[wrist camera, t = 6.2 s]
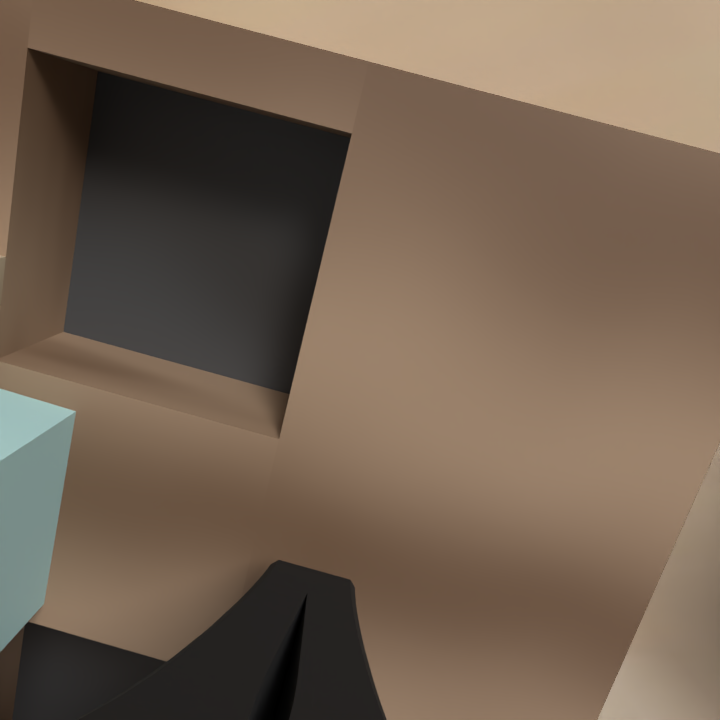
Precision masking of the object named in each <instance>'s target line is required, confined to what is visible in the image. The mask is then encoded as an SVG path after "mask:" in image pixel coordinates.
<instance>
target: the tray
mask: <svg viewBox="0 0 720 720" xmlns="http://www.w3.org/2000/svg"><path fill="white" fill-rule="evenodd" d="M0 389H3V390H7V391H10V392H13V393H17V394H20V395H23V396H27V397H30V398H33V399H37V400H40V401H43V402H47V403H50V404H53V405H57V406H60V407H63V408H67V409H70V410H73V411H76V415H75V421H74V427H73V433H72V439H71V445H70V451H69V457H68V463H67V469H66V475H65V481H64V487H63V493H62V499H61V505H60V511H59V517H58V523H57V529H56V535H55V541H54V547H53V553H52V559H51V565H50V571H49V577H48V583H47V589H46V595H45V601H44V604H43V606H42V607H41V608H40V609H39V610H38V611H37V612H36V613H35V614H34V615H33V617H32V618H31V619H30V620H29V621H28V622H27V623H26V624H25V625H24V627H23V628H22V629H21V630H20V631H19V632H18V633H17V634H16V635H15V636H14V638H13V639H12V640H11V641H10V642H9V643H8V644H7V645H6V646H5V648H4V649H3V650H2V651H1V652H0V720H76V719H78V718H80V717H81V716H83V715H85V714H87V713H88V712H90V711H92V710H93V709H95V708H97V707H99V706H100V705H102V704H104V703H105V702H107V701H109V700H110V699H112V698H114V697H115V696H117V695H119V694H120V693H122V692H123V691H125V690H126V689H128V688H129V687H131V686H132V685H134V684H136V683H137V682H139V681H140V680H142V679H143V678H145V677H146V676H147V675H149V674H150V673H152V672H153V671H155V670H156V669H157V668H159V667H160V666H161V665H163V664H164V663H166V662H167V661H168V660H170V659H171V658H172V657H174V656H175V655H176V654H177V653H179V652H180V651H181V650H182V649H184V648H185V647H186V646H187V645H189V644H190V643H191V642H192V641H193V640H195V639H196V638H197V637H198V636H200V635H201V634H202V633H203V632H205V631H206V630H207V629H208V628H209V627H210V626H212V625H213V624H214V623H215V622H216V621H217V620H218V619H219V618H220V617H221V616H222V615H224V614H225V613H226V612H227V611H228V610H229V609H230V608H231V607H232V606H233V605H234V604H235V603H237V602H238V601H239V600H240V599H241V598H242V597H243V595H244V594H245V593H246V592H247V591H248V590H249V589H250V588H251V587H252V586H253V585H254V584H255V583H256V582H257V581H258V580H259V578H260V577H261V576H262V575H263V574H264V572H265V571H266V570H267V569H268V567H269V566H270V564H272V563H274V562H276V561H278V560H282V561H285V562H289V563H293V564H296V565H300V566H303V567H307V568H310V569H314V570H318V571H321V572H325V573H328V574H332V575H336V576H339V577H343V578H346V579H350V580H351V581H352V583H353V585H354V587H355V598H356V607H357V614H358V620H359V625H360V630H361V635H362V639H363V644H364V648H365V652H366V655H367V659H368V663H369V666H370V670H371V673H372V677H373V681H374V684H375V687H376V690H377V693H378V696H379V699H380V702H381V705H382V708H383V711H384V713H385V716H386V719H387V720H597V719H598V717H599V714H600V712H601V710H602V708H603V705H604V703H605V701H606V699H607V696H608V694H609V692H610V690H611V687H612V685H613V683H614V681H615V678H616V676H617V674H618V671H619V669H620V667H621V665H622V662H623V660H624V658H625V656H626V653H627V651H628V649H629V647H630V644H631V642H632V640H633V638H634V635H635V633H636V631H637V629H638V626H639V624H640V622H641V619H642V617H643V615H644V613H645V610H646V608H647V606H648V604H649V601H650V599H651V597H652V595H653V592H654V590H655V588H656V586H657V583H658V581H659V579H660V577H661V574H662V572H663V570H664V568H665V565H666V563H667V561H668V558H669V556H670V554H671V552H672V549H673V547H674V545H675V543H676V540H677V538H678V536H679V534H680V531H681V529H682V527H683V525H684V522H685V520H686V518H687V516H688V513H689V511H690V509H691V506H692V504H693V502H694V500H695V497H696V495H697V493H698V491H699V488H700V486H701V484H702V482H703V479H704V477H705V475H706V473H707V470H708V468H709V466H710V464H711V461H712V459H713V457H714V455H715V452H716V450H717V448H718V445H719V443H720V153H716V152H712V151H708V150H704V149H700V148H697V147H693V146H689V145H685V144H681V143H678V142H674V141H670V140H666V139H662V138H658V137H655V136H651V135H647V134H643V133H639V132H635V131H632V130H628V129H624V128H620V127H616V126H613V125H609V124H605V123H601V122H597V121H593V120H590V119H586V118H582V117H578V116H574V115H571V114H567V113H563V112H559V111H555V110H551V109H548V108H544V107H540V106H536V105H532V104H529V103H525V102H521V101H517V100H513V99H509V98H506V97H502V96H498V95H494V94H490V93H487V92H483V91H479V90H475V89H471V88H467V87H464V86H460V85H456V84H452V83H448V82H444V81H441V80H437V79H433V78H429V77H425V76H422V75H418V74H414V73H410V72H406V71H402V70H399V69H395V68H391V67H387V66H383V65H380V64H376V63H372V62H368V61H364V60H360V59H357V58H353V57H349V56H345V55H341V54H338V53H334V52H330V51H326V50H322V49H318V48H315V47H311V46H307V45H303V44H299V43H295V42H292V41H288V40H284V39H280V38H276V37H273V36H269V35H265V34H261V33H257V32H253V31H250V30H246V29H242V28H238V27H234V26H231V25H227V24H223V23H219V22H215V21H211V20H208V19H204V18H200V17H196V16H192V15H189V14H185V13H181V12H177V11H173V10H169V9H166V8H162V7H158V6H154V5H150V4H147V3H143V2H139V1H135V0H0Z"/></svg>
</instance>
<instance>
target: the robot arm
mask: <svg viewBox="0 0 720 720" xmlns="http://www.w3.org/2000/svg"><path fill="white" fill-rule="evenodd" d="M76 720H387V719H386V716H385V713H384V711H383V708H382V705H381V702H380V699H379V696H378V693H377V690H376V687H375V684H374V681H373V677H372V673H371V670H370V666H369V663H368V659H367V655H366V652H365V648H364V644H363V639H362V635H361V630H360V625H359V620H358V614H357V607H356V598H355V587H354V585H353V583H352V581H351V580H350V579H346V578H343V577H339V576H336V575H332V574H328V573H325V572H321V571H318V570H314V569H310V568H307V567H303V566H300V565H296V564H293V563H289V562H285V561H282V560H278V561H276V562H274V563H272V564H270V566H269V567H268V569H267V570H266V571H265V572H264V574H263V575H262V576H261V577H260V578H259V580H258V581H257V582H256V583H255V584H254V585H253V586H252V587H251V588H250V589H249V590H248V591H247V592H246V593H245V594H244V595H243V597H242V598H241V599H240V600H239V601H238V602H237V603H235V604H234V605H233V606H232V607H231V608H230V609H229V610H228V611H227V612H226V613H225V614H224V615H222V616H221V617H220V618H219V619H218V620H217V621H216V622H215V623H214V624H213V625H212V626H210V627H209V628H208V629H207V630H206V631H205V632H203V633H202V634H201V635H200V636H198V637H197V638H196V639H195V640H193V641H192V642H191V643H190V644H189V645H187V646H186V647H185V648H184V649H182V650H181V651H180V652H179V653H177V654H176V655H175V656H174V657H172V658H171V659H170V660H168V661H167V662H166V663H164V664H163V665H161V666H160V667H159V668H157V669H156V670H155V671H153V672H152V673H150V674H149V675H147V676H146V677H145V678H143V679H142V680H140V681H139V682H137V683H136V684H134V685H132V686H131V687H129V688H128V689H126V690H125V691H123V692H122V693H120V694H119V695H117V696H115V697H114V698H112V699H110V700H109V701H107V702H105V703H104V704H102V705H100V706H99V707H97V708H95V709H93V710H92V711H90V712H88V713H87V714H85V715H83V716H81V717H80V718H78V719H76Z"/></svg>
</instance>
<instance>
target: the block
mask: <svg viewBox="0 0 720 720" xmlns="http://www.w3.org/2000/svg"><path fill="white" fill-rule="evenodd" d="M75 415H76V411H73V410H70V409H67V408H63V407H60V406H57V405H53V404H50V403H47V402H43V401H40V400H37V399H33V398H30V397H27V396H23V395H20V394H17V393H13V392H10V391H7V390H3V389H0V652H1V651H2V650H3V649H4V648H5V646H6V645H7V644H8V643H9V642H10V641H11V640H12V639H13V638H14V636H15V635H16V634H17V633H18V632H19V631H20V630H21V629H22V628H23V627H24V625H25V624H26V623H27V622H28V621H29V620H30V619H31V618H32V617H33V615H34V614H35V613H36V612H37V611H38V610H39V609H40V608H41V607H42V606H43V604H44V601H45V595H46V589H47V583H48V577H49V571H50V565H51V559H52V553H53V547H54V541H55V535H56V529H57V523H58V517H59V511H60V505H61V499H62V493H63V487H64V481H65V475H66V469H67V463H68V457H69V451H70V445H71V439H72V433H73V427H74V421H75Z"/></svg>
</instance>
